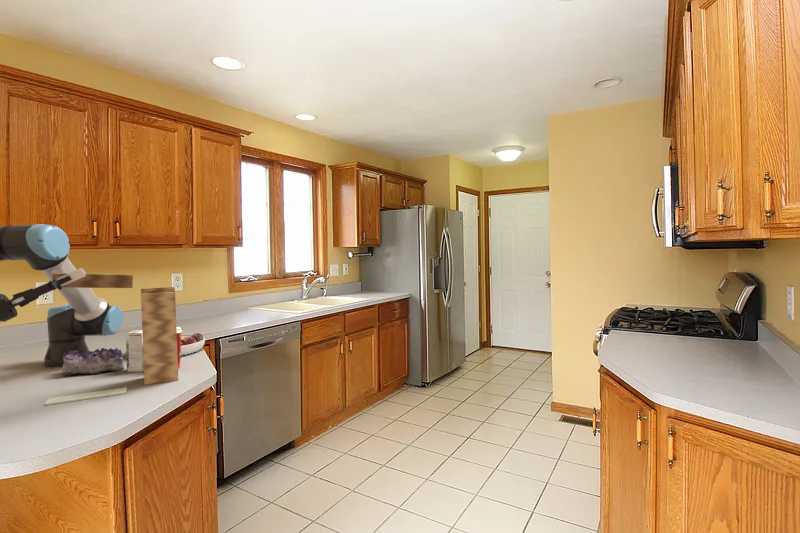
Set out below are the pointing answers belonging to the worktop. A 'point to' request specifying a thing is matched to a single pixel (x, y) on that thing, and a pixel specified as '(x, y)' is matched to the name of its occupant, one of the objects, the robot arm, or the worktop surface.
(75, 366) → the geode
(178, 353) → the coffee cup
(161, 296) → the oak pedestal
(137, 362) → the syrup box
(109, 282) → the walnut bar
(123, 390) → the sage mat
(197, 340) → the bowl
